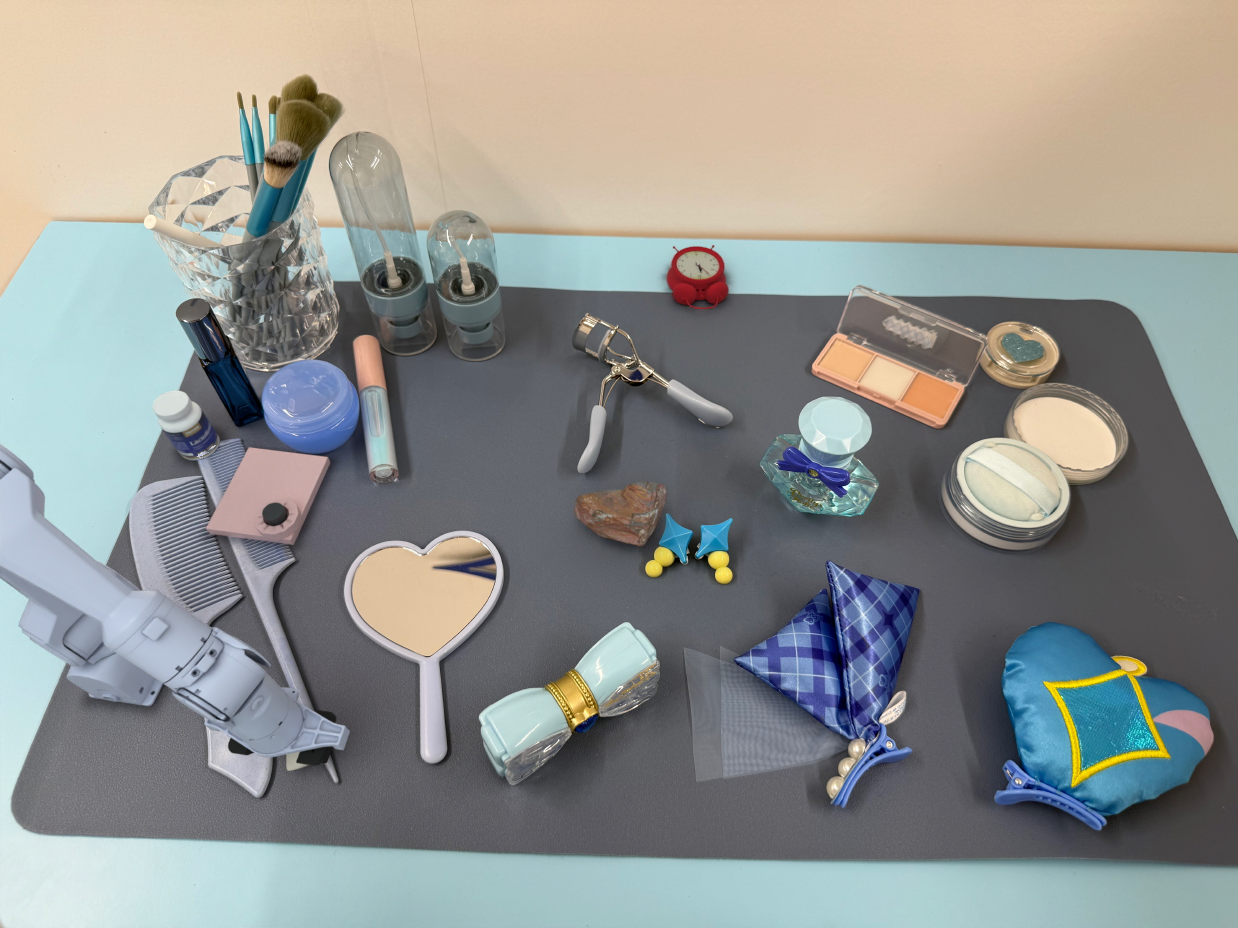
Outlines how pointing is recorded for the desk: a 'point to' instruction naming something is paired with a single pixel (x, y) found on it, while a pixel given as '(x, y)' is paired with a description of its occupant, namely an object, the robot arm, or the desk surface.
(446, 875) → the desk surface
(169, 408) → the pill bottle
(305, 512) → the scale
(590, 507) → the stone
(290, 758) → the beige teardrop
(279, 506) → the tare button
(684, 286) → the alarm clock
